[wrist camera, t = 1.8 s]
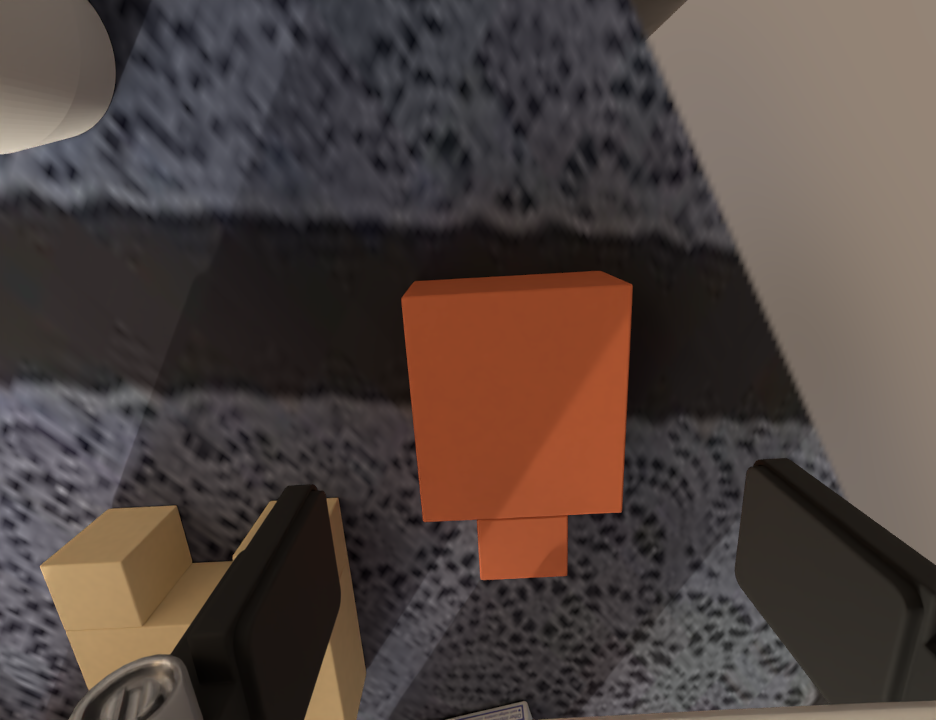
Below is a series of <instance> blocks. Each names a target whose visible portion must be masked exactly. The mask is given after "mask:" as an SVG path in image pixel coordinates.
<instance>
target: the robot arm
mask: <svg viewBox="0 0 936 720" xmlns="http://www.w3.org/2000/svg"><path fill="white" fill-rule="evenodd" d="M735 575H736V579H737V582H738V584H739V586H740V587H741V589H742V590H743V591H744V593H745V594H746V595H747V597H748V598H749V599H750V601H751V602H752V603H753V604H754V606H755V607H756V608H757V610H758V611H759V612H760V614H761V615H762V616H763V618H764V619H765V620H766V621H767V623H768V624H769V625H770V627H771V628H772V629H773V631H774V632H775V633H776V635H777V636H778V637H779V639H780V640H781V641H782V642H783V644H784V645H785V646H786V648H787V649H788V650H789V652H790V653H791V654H792V656H793V657H794V658H795V660H796V661H797V662H798V663H799V665H800V666H801V667H802V669H803V670H804V671H805V673H806V674H807V675H808V677H809V678H810V679H811V681H812V682H813V683H814V684H815V686H816V687H817V688H818V690H819V691H820V692H821V694H822V695H823V696H824V698H825V699H826V700H827V701H828V703H829V704H830V705H813V706H792V707H771V708H749V709H728V710H709V711H689V712H670V713H651V714H632V715H614V716H595V717H577V718H559V719H540V720H936V565H934V564H933V563H932V562H930V561H929V560H928V559H926V558H925V557H923V556H922V555H921V554H919V553H918V552H916V551H915V550H914V549H912V548H911V547H910V546H908V545H907V544H906V543H904V542H903V541H901V540H900V539H899V538H897V537H896V536H895V535H893V534H892V533H890V532H889V531H888V530H886V529H885V528H883V527H882V526H881V525H879V524H878V523H876V522H875V521H874V520H872V519H871V518H870V517H868V516H867V515H865V514H864V513H863V512H861V511H860V510H858V509H857V508H856V507H854V506H853V505H852V504H850V503H849V502H848V501H846V500H845V499H843V498H842V497H841V496H839V495H838V494H837V493H835V492H834V491H832V490H831V489H830V488H828V487H827V486H825V485H824V484H823V483H821V482H820V481H819V480H817V479H816V478H814V477H813V476H812V475H810V474H809V473H808V472H806V471H805V470H803V469H802V468H801V467H799V466H798V465H796V464H795V463H794V462H792V461H791V460H789V459H787V458H780V459H762V460H757V461H756V462H755V464H754V465H753V467H750V468H749V469H748V470H747V473H746V481H745V489H744V497H743V506H742V514H741V522H740V530H739V538H738V546H737V555H736V563H735ZM340 603H341V588H340V581H339V575H338V569H337V562H336V556H335V550H334V544H333V537H332V531H331V525H330V518H329V512H328V506H327V499H326V494H325V492H324V491H318V490H317V488H316V486H315V485H314V484H312V485H294V486H287V487H286V488H285V490H284V491H283V493H282V494H281V496H280V497H279V499H278V500H277V502H276V503H275V505H274V506H273V508H272V509H271V511H270V512H269V514H268V515H267V517H266V518H265V520H264V521H263V523H262V524H261V526H260V527H259V529H258V530H257V532H256V533H255V535H254V536H253V538H252V539H251V541H250V542H249V544H248V545H247V547H246V549H245V550H243V551H241V552H240V553H239V554H238V555H237V556H236V558H235V559H234V561H233V562H232V564H231V565H230V567H229V568H228V570H227V571H226V573H225V574H224V576H223V577H222V578H221V580H220V581H219V583H218V584H217V586H216V587H215V589H214V590H213V592H212V593H211V595H210V596H209V598H208V599H207V601H206V602H205V604H204V605H203V607H202V608H201V610H200V611H199V613H198V614H197V615H196V617H195V618H194V620H193V621H192V623H191V624H190V626H189V627H188V629H187V630H186V632H185V633H184V635H183V636H182V638H181V639H180V641H179V642H178V644H177V645H176V647H175V648H174V649H173V651H172V652H171V654H156V655H151V656H147V657H143V658H140V659H137V660H135V661H133V662H130V663H128V664H126V665H123V666H122V667H120V668H119V669H117V670H115V671H114V672H112V673H110V674H109V675H107V676H106V677H105V678H103V679H102V680H101V681H100V682H99V683H97V684H96V685H95V686H94V687H92V688H91V689H90V690H89V691H88V693H87V694H86V695H85V696H84V697H83V698H82V699H81V701H80V702H79V703H78V704H77V706H76V708H75V709H74V711H73V713H72V715H71V716H70V718H69V720H304V719H305V716H306V713H307V710H308V706H309V703H310V700H311V697H312V694H313V691H314V688H315V684H316V681H317V678H318V675H319V672H320V669H321V665H322V662H323V659H324V656H325V653H326V650H327V647H328V643H329V640H330V637H331V634H332V631H333V628H334V625H335V621H336V618H337V615H338V612H339V608H340Z"/></svg>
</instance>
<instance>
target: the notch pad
mask: <svg viewBox="0 0 936 720" xmlns="http://www.w3.org/2000/svg"><path fill="white" fill-rule="evenodd" d="M326 499H327V506H328V512H329V518H330V525H331V531H332V537H333V544H334V550H335V556H336V562H337V569H338V575H339V581H340V588H341V603H340V608H339V612H338V615H337V618H336V621H335V625H334V628H333V631H332V634H331V637H330V640H329V643H328V647H327V650H326V653H325V656H324V659H323V662H322V665H321V669H320V672H319V675H318V678H317V681H316V684H315V688H314V691H313V694H312V697H311V700H310V703H309V706H308V710H307V713H306V716H305V719H304V720H356V718H357V714H358V709H359V704H360V700H361V695H362V691H363V686H364V681H365V677H366V668H365V662H364V656H363V649H362V643H361V637H360V630H359V624H358V618H357V611H356V605H355V599H354V592H353V586H352V580H351V573H350V567H349V561H348V556H347V549H346V543H345V537H344V530H343V524H342V518H341V511H340V505H339V499H338V498H326ZM276 502H277V501H270V502H269V503H268V505H267V506H266V508H265V509H264V511H263V512H262V514H261V515H260V517H259V518H258V520H257V521H256V522H255V524H254V525H253V527H252V528H251V530H250V531H249V533H248V534H247V536H246V537H245V539H244V540H243V542H242V543H241V545H240V546H239V547H238V549H237V550H236V552H235V553H234V555H233V561H234V559H235V558H236V556H237V555H238V554H239V553H240V552H241V551H243V550H245V549H246V547H247V545H248V544H249V542H250V541H251V539H252V538H253V536H254V535H255V533H256V532H257V530H258V529H259V527H260V526H261V524H262V523H263V521H264V520H265V518H266V517H267V515H268V514H269V512H270V511H271V509H272V508H273V506H274V505H275V503H276ZM233 561H223V562H203V563H192V558H191V555H190V551H189V548H188V544H187V540H186V537H185V533H184V529H183V526H182V522H181V519H180V515H179V511H178V508H177V506H176V505H175V506H155V507H135V508H115V509H108V510H107V511H106V512H104V513H103V514H102V515H101V516H100V517H98V518H97V519H96V520H95V521H94V522H92V523H91V524H90V525H89V526H87V527H86V528H85V529H84V530H83V531H81V532H80V533H79V534H78V535H77V536H75V537H74V538H73V539H72V540H71V541H69V542H68V543H67V544H66V545H65V546H63V547H62V548H61V549H60V550H59V551H57V552H56V553H55V554H54V555H53V556H51V557H50V558H49V559H48V560H46V561H45V562H44V563H43V564H42V565H41V566H40V568H41V571H42V573H43V576H44V578H45V581H46V583H47V586H48V588H49V591H50V593H51V596H52V598H53V601H54V604H55V606H56V609H57V611H58V614H59V616H60V619H61V621H62V624H63V626H64V629H65V630H66V634H67V636H68V639H69V641H70V644H71V646H72V649H73V651H74V654H75V656H76V659H77V661H78V664H79V667H80V669H81V672H82V674H83V677H84V679H85V682H86V684H87V687H88V689H89V690H90V689H91V688H92V687H94V686H95V685H96V684H97V683H99V682H100V681H101V680H102V679H103V678H105V677H106V676H107V675H109V674H110V673H112V672H114V671H115V670H117V669H119V668H120V667H122V666H123V665H126V664H128V663H130V662H133V661H135V660H137V659H140V658H143V657H147V656H151V655H156V654H171V652H172V651H173V649H174V648H175V647H176V645H177V644H178V642H179V641H180V639H181V638H182V636H183V635H184V633H185V632H186V630H187V629H188V627H189V626H190V624H191V623H192V621H193V620H194V618H195V617H196V615H197V614H198V613H199V611H200V610H201V608H202V607H203V605H204V604H205V602H206V601H207V599H208V598H209V596H210V595H211V593H212V592H213V590H214V589H215V587H216V586H217V584H218V583H219V581H220V580H221V578H222V577H223V576H224V574H225V573H226V571H227V570H228V568H229V567H230V565H231V564H232V562H233Z"/></svg>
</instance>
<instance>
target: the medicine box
mask: <svg viewBox="0 0 936 720" xmlns="http://www.w3.org/2000/svg"><path fill="white" fill-rule="evenodd" d="M445 720H533V719H532V716H531V713H530V710H529V706H528V704H527V702H526V701H522V702H518V703H514V704H509V705H505V706H501V707H497V708H492V709H488V710H484V711H480V712H475V713H471V714H467V715H463V716H458V717H454V718H449V719H445Z"/></svg>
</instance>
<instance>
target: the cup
mask: <svg viewBox="0 0 936 720" xmlns="http://www.w3.org/2000/svg"><path fill="white" fill-rule="evenodd" d="M115 78H116V68H115V59H114V53H113V49H112V45H111V42H110V39H109V36H108V33H107V31H106V29H105V27H104V25H103V23H102V21H101V19H100V17H99V16H98V14H97V12H96V11H95V9H94V8H93V7H92V5H91V4H90V3H89V1H88V0H0V154H7V153H13V152H17V151H21V150H24V149H28V148H32V147H36V146H40V145H44V144H47V143H51V142H55V141H59V140H63V139H67V138H70V137H74V136H77V135H80V134H82V133H84V132H86V131H87V130H89V129H90V128H92V127H93V126H94V125H95V124H96V123H97V122H98V121H99V120H100V119H101V118H102V117H103V115H104V114H105V112H106V110H107V109H108V107H109V104H110V102H111V99H112V96H113V92H114V88H115Z"/></svg>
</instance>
